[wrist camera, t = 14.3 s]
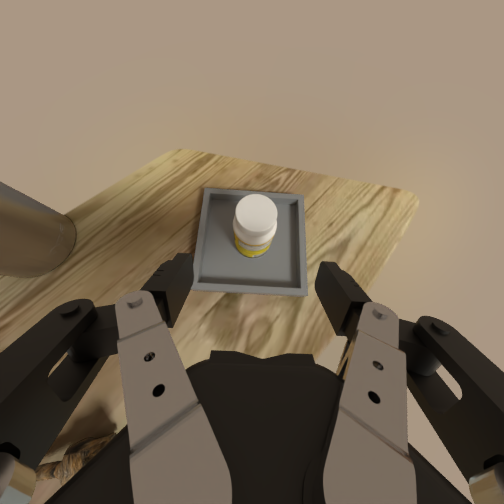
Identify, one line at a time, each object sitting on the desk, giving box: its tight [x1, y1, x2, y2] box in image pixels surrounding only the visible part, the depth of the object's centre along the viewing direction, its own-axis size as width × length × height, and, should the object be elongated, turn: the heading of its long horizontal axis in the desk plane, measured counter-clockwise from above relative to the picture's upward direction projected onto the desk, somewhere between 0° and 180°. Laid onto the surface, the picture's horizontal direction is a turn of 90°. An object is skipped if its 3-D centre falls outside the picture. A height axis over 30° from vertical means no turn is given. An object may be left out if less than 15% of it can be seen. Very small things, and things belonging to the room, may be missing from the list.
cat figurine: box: [35, 433, 116, 486], centre depth 17 cm, size 3×8×4 cm, turn 103°
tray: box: [191, 188, 308, 297], centre depth 24 cm, size 14×14×2 cm
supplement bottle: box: [233, 194, 277, 259], centre depth 21 cm, size 5×5×8 cm
